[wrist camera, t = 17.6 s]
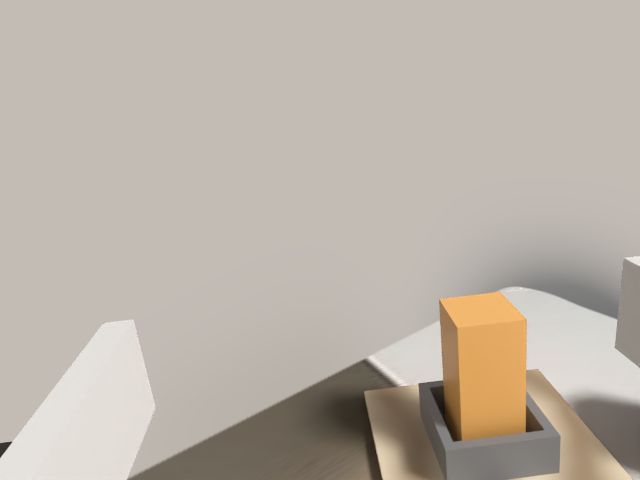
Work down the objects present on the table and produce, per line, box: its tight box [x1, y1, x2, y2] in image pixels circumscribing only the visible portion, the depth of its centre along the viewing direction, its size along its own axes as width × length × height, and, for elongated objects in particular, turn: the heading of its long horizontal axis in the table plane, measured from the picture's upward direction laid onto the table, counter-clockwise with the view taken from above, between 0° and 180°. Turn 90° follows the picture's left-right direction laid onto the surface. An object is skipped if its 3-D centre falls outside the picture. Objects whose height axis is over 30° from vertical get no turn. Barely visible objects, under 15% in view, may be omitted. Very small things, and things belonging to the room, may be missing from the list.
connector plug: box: [439, 292, 527, 442], centre depth 39 cm, size 5×5×12 cm
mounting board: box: [364, 369, 633, 480], centre depth 41 cm, size 18×18×1 cm
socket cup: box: [418, 381, 561, 480], centre depth 40 cm, size 9×9×3 cm
